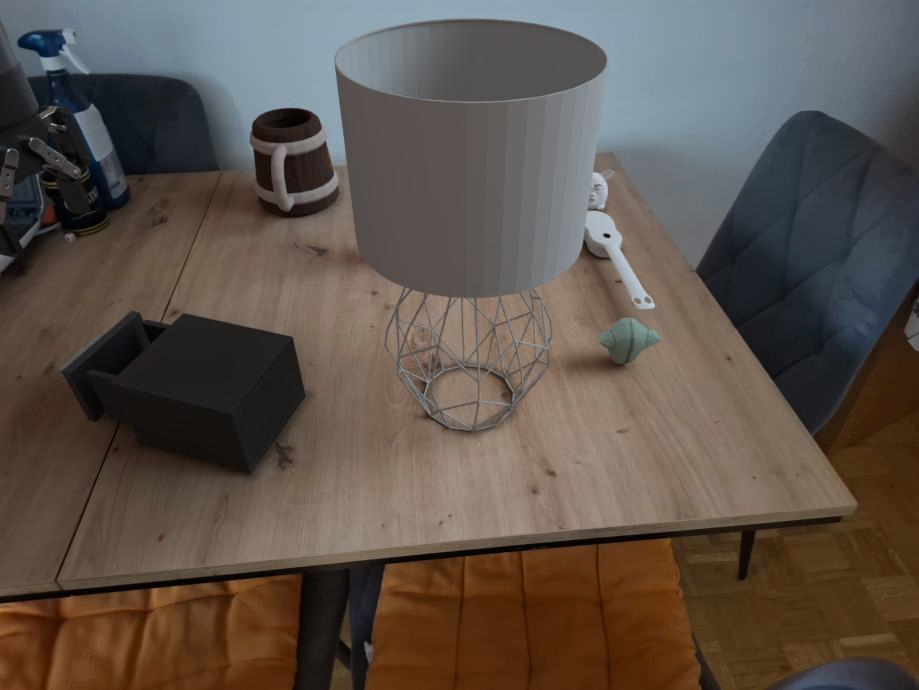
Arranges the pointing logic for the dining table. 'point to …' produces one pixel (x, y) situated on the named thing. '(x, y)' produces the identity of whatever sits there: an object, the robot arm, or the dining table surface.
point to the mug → (292, 163)
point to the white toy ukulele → (613, 254)
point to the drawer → (108, 364)
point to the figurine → (599, 189)
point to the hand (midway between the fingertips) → (49, 233)
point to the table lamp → (470, 166)
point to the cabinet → (212, 391)
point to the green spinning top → (627, 340)
